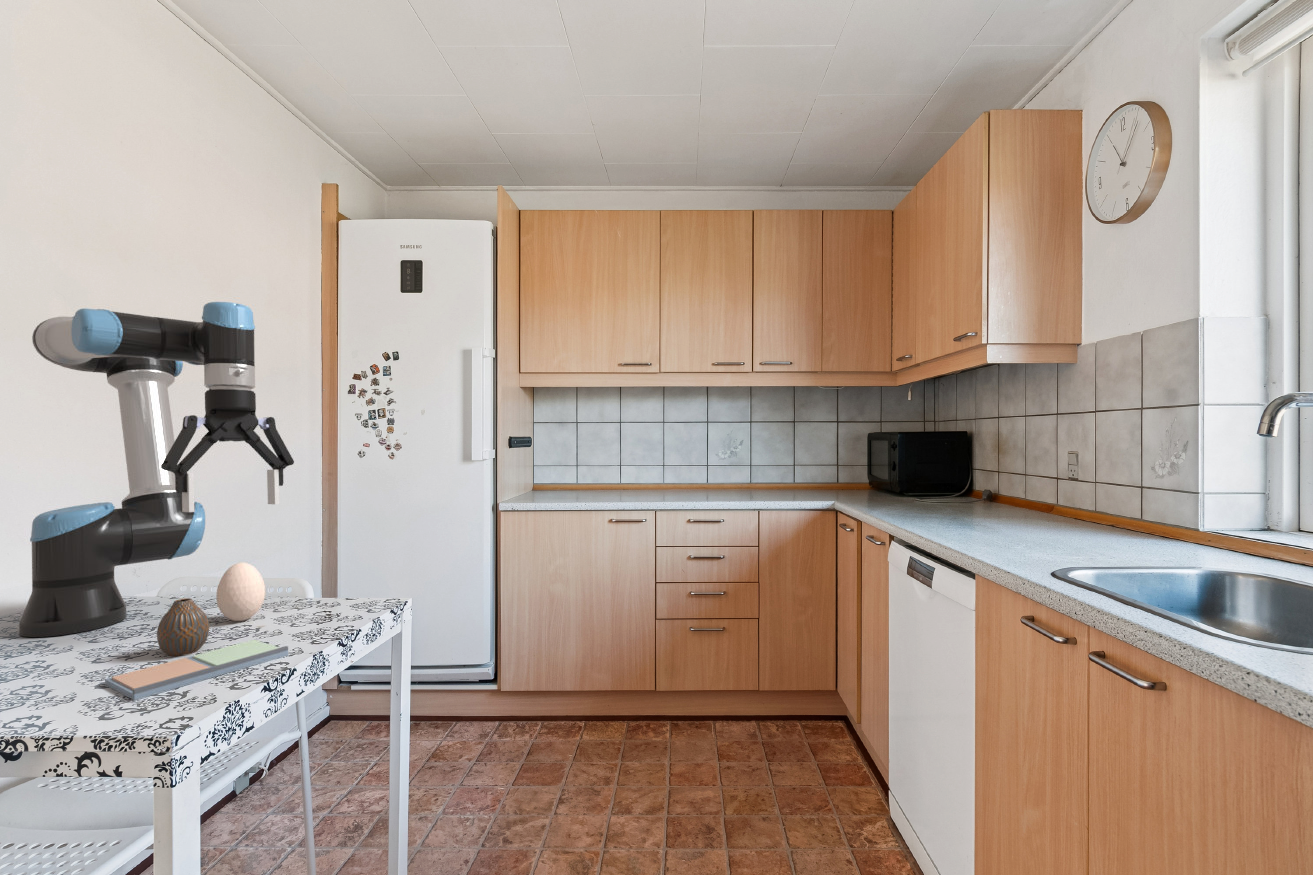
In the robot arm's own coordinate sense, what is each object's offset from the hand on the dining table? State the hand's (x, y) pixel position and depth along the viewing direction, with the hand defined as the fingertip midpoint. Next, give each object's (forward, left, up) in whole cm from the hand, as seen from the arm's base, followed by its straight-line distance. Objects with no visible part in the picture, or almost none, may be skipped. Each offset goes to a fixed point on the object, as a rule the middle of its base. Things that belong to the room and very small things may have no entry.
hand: (233, 507), depth 109 cm
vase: (+1, -8, -24) cm, 25 cm away
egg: (-11, +6, -24) cm, 27 cm away
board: (+13, -10, -23) cm, 28 cm away
